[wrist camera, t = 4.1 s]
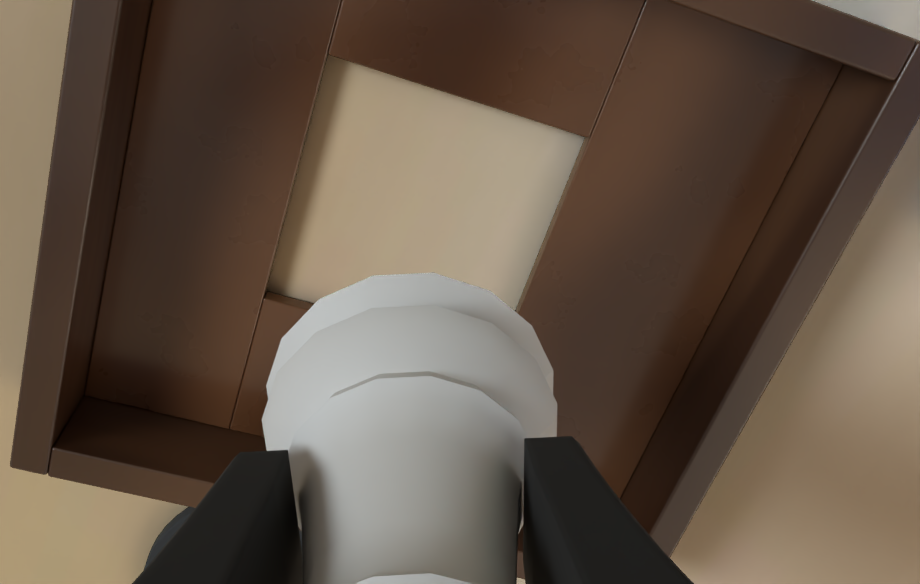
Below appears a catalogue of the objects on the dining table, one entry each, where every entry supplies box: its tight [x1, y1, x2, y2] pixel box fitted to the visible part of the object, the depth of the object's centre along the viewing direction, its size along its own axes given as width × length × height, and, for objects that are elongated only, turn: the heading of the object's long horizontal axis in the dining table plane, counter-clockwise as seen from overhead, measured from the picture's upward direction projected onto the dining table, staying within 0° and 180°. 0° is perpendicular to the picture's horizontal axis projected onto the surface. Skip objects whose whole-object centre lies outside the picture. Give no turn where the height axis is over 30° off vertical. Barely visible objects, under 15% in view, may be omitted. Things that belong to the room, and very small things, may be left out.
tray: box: [10, 0, 920, 579], centre depth 18 cm, size 15×14×2 cm
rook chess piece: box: [262, 273, 557, 584], centre depth 10 cm, size 4×4×8 cm
